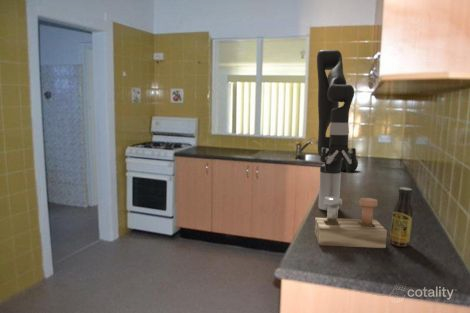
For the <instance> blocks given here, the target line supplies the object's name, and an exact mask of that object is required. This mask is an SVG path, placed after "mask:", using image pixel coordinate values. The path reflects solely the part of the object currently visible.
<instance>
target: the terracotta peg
mask: <svg viewBox="0 0 470 313" xmlns="http://www.w3.org/2000/svg"><path fill="white" fill-rule="evenodd" d="M358 205H359V206H361V207H362V208H361V219H362V220H361V221H362V222H363V223H372V220H374V218H373V216H374V208H377V207H378V199H375V198H371V197H360V198H358Z"/></svg>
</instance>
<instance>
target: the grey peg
mask: <svg viewBox="0 0 470 313" xmlns="http://www.w3.org/2000/svg"><path fill="white" fill-rule="evenodd" d="M324 204H326V205H328V207H327V212H326V215H327V216H326V218H327V221H329V222H337V218H338V214H339V210H338V206H339V207H340V206H342V205H343V199H342V198H341V197H339V198H338V197H325V198H324ZM338 219H339V218H338Z"/></svg>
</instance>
